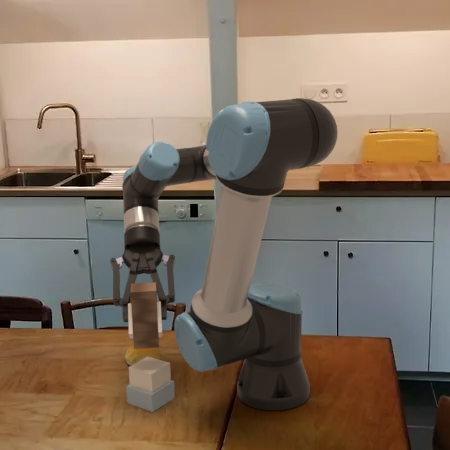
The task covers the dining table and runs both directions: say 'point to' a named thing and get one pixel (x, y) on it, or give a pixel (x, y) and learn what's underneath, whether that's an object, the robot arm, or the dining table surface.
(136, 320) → the pillar
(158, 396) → the tower base
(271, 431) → the dining table surface
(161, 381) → the tower top
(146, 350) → the bread roll
